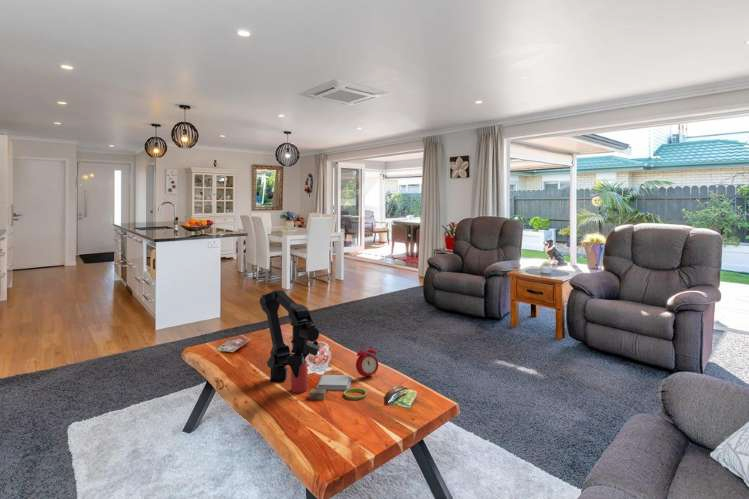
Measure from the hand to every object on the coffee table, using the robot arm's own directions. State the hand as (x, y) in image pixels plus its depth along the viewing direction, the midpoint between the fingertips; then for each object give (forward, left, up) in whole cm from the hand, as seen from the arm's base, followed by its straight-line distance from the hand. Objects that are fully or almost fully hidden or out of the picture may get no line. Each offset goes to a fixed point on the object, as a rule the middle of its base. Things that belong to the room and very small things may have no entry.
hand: (299, 373), depth 175 cm
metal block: (+9, -7, -7) cm, 14 cm away
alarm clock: (+28, +18, -7) cm, 34 cm away
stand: (+14, +8, -7) cm, 18 cm away
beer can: (0, 0, -7) cm, 7 cm away
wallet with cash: (+41, -2, -14) cm, 43 cm away
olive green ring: (+24, -4, -15) cm, 29 cm away
